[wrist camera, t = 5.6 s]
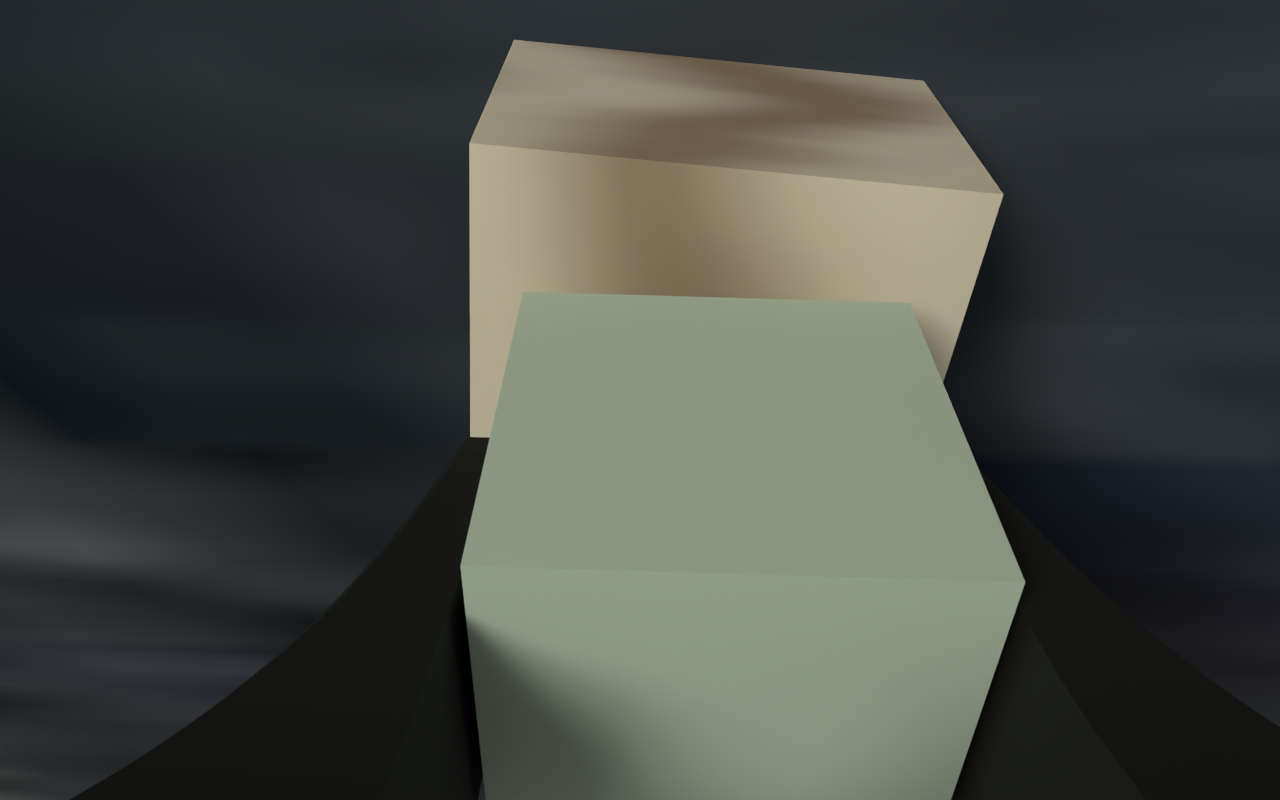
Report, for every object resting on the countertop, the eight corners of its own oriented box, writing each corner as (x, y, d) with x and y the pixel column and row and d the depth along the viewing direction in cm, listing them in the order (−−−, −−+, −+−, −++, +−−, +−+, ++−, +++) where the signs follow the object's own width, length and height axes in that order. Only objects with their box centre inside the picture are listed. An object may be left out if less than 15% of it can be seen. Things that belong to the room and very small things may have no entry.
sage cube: (910, 302, 13) (1024, 581, 9) (852, 579, 16) (921, 887, 12) (523, 291, 13) (460, 566, 9) (536, 570, 16) (493, 875, 12)
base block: (921, 77, 17) (1003, 194, 13) (838, 408, 21) (880, 576, 17) (515, 36, 17) (469, 143, 13) (507, 379, 21) (470, 543, 17)
